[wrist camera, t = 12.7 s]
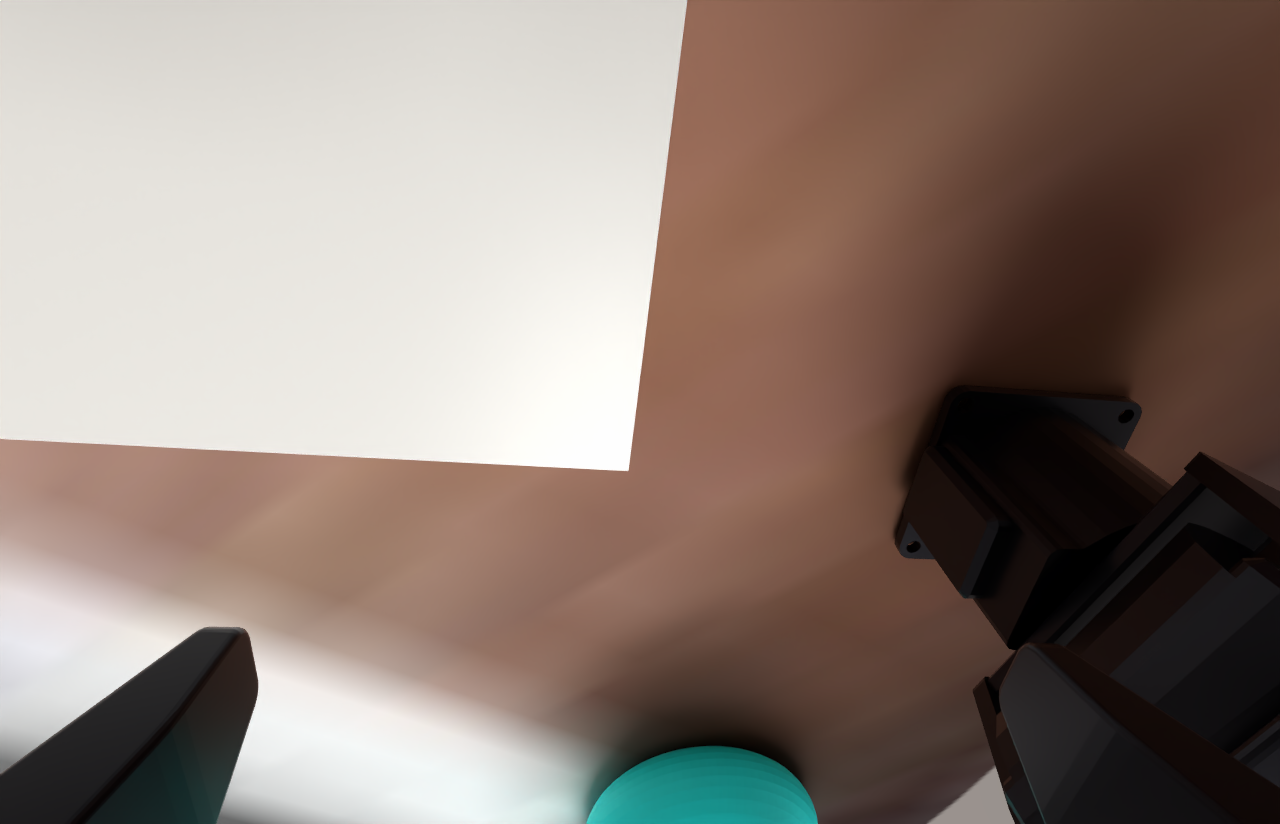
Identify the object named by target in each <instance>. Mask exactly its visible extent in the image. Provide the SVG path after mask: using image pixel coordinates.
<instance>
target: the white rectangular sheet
mask: <svg viewBox="0 0 1280 824" xmlns="http://www.w3.org/2000/svg"><path fill="white" fill-rule="evenodd" d="M686 6H687V0H0V439H14V440H34V441H53V442H73V443H93V444H112V445H132V446H151V447H171V448H190V449H210V450H229V451H249V452H268V453H288V454H308V455H327V456H347V457H366V458H386V459H405V460H425V461H444V462H464V463H484V464H503V465H523V466H542V467H562V468H581V469H601V470H620V471H628V469H629V461H630V453H631V445H632V437H633V429H634V421H635V413H636V405H637V397H638V389H639V381H640V373H641V365H642V357H643V349H644V341H645V333H646V325H647V317H648V309H649V301H650V293H651V285H652V277H653V269H654V261H655V253H656V245H657V237H658V229H659V222H660V214H661V206H662V198H663V190H664V182H665V174H666V166H667V158H668V150H669V142H670V134H671V126H672V118H673V110H674V102H675V94H676V86H677V78H678V70H679V62H680V54H681V46H682V38H683V30H684V22H685V14H686Z"/></svg>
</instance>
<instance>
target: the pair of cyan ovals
mask: <svg viewBox="0 0 1280 824" xmlns="http://www.w3.org/2000/svg"><path fill="white" fill-rule="evenodd" d="M587 824H818V822H817V816H816V812H815V809H814V806H813V803H812V800H811V798H810V796H809V795H808V793H807V791H806V790H805V788H804V787H803V785H802V784H801V782H800V781H799V780H798V779H797V778H796V777H795V776H794V775H793V774H792V773H791V772H790V771H789V770H787V769H786V768H785V767H784V766H782V765H781V764H779V763H778V762H776V761H774V760H772V759H770V758H768V757H765V756H763V755H761V754H758V753H755V752H752V751H749V750H745V749H740V748H734V747H726V746H699V747H690V748H684V749H679V750H675V751H671V752H667V753H663V754H661V755H658V756H655V757H653V758H650V759H648V760H646V761H644V762H642V763H640V764H638V765H636V766H634V767H633V768H631V769H630V770H628V771H626V772H625V773H624V774H622V775H621V776H620V777H619V778H617V779H616V780H615V781H614V782H613V783H612V784H611V785H610V786H609V787H607V788H606V790H605V791H604V792H603V793H602V794H601V796H600V797H599V799H598V800H597V802H596V803H595V805H594V807H593V809H592V811H591V813H590V815H589V817H588V820H587Z"/></svg>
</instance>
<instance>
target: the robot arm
mask: <svg viewBox="0 0 1280 824" xmlns="http://www.w3.org/2000/svg"><path fill="white" fill-rule="evenodd" d="M966 398H967V401H966V403H965V404H964V405H962V406H961V407H958V404H959V403H960V401H962V400H963V399H966ZM1123 411H1124V413H1123V414H1122V415H1121V416H1119V415H1120V414H1121V412H1123ZM1141 413H1142V410H1141V407H1140V406H1139V405H1138V404H1137V403H1136V402H1134V401H1132V400H1131V399H1129V398H1126V397H1119V396H1105V395H1091V394H1077V393H1063V392H1049V391H1035V390H1021V389H1007V388H993V387H979V386H965V385H964V386H958V387H956V388H954V389H952V390H951V391H950V392H949V393H948V394H947V395H946V397H945V399H944V402H943V405H942V408H941V410H940V413H939V416H938V419H937V422H936V425H935V428H934V430H933V433H932V436H931V439H930V442H929V445H928V447H927V449H926V450H925V451H924V452H923V455H922V458H921V461H920V464H919V466H918V469H917V472H916V475H915V478H914V481H913V484H912V486H911V489H910V492H909V495H908V498H907V501H906V504H905V506H904V509H903V514H904V516H903V518H902V521H901V524H900V527H899V530H898V533H897V536H896V538H895V545H896V548H897V549H898V551H899V552H900V554H901V555H902V556H904V557H906V558H914V559H935V560H936V561H937V562H938V564H939V565H940V567H941V568H942V570H943V571H944V572H945V574H946V575H947V577H948V578H949V579H950V581H951V582H952V584H953V585H954V587H955V588H956V589H957V591H958V592H959V593H960V595H961V596H962V597H963V598H969V599H973V600H974V601H975V602H976V604H977V605H978V607H979V608H980V609H981V611H982V612H983V613H984V615H985V616H986V618H987V619H988V620H989V622H990V623H991V625H992V626H993V627H994V629H995V630H996V631H997V633H998V634H999V636H1000V637H1001V638H1002V640H1003V641H1004V643H1005V644H1006V645H1007V647H1008V648H1009V649H1012V650H1016V651H1015V652H1014V653H1013V654H1012V655H1011V656H1010V657H1009V658H1008V659H1007V660H1006V661H1005V662H1004V663H1003V664H1002V665H1001V666H1000V667H999V668H998V669H997V670H996V671H995V672H994V674H993V675H992V676H991V677H984V678H983V680H982V681H981V682H980V683H979V684H978V685H977V686H976V687H975V688H974V689H973V694H974V697H975V700H976V704H977V707H978V710H979V713H980V717H981V720H982V723H983V726H984V730H985V733H986V736H987V739H988V743H989V746H990V749H991V752H992V756H993V759H994V762H995V765H996V769H997V772H998V775H999V778H1000V782H1001V785H1002V788H1003V791H1004V794H1005V798H1006V801H1007V804H1008V807H1009V810H1010V813H1011V815H1012V817H1013V820H1014V822H1015V824H1280V491H1278V490H1276V489H1274V488H1272V487H1270V486H1268V485H1266V484H1264V483H1262V482H1260V481H1258V480H1256V479H1254V478H1252V477H1250V476H1248V475H1246V474H1244V473H1242V472H1240V471H1238V470H1236V469H1234V468H1232V467H1230V466H1228V465H1226V464H1224V463H1222V462H1220V461H1218V460H1217V459H1215V458H1213V457H1211V456H1209V455H1207V454H1205V453H1203V452H1199V453H1198V454H1197V455H1196V456H1195V457H1194V458H1193V459H1192V460H1191V461H1190V463H1189V464H1188V465H1187V466H1186V467H1185V468H1184V469H1185V470H1186V471H1187V472H1186V473H1185V474H1184V475H1183V476H1182V477H1181V478H1180V479H1179V481H1178V482H1177V483H1176V484H1175V485H1174V486H1171V485H1170V484H1169V483H1167V482H1166V481H1165V480H1163V479H1162V478H1161V477H1159V476H1158V475H1157V474H1155V473H1154V472H1152V471H1151V470H1150V469H1148V468H1147V467H1146V466H1144V465H1143V464H1142V463H1140V462H1139V461H1137V460H1136V459H1135V458H1133V457H1132V456H1131V455H1129V454H1128V453H1127V452H1125V451H1124V449H1125V447H1126V445H1127V443H1128V441H1129V439H1130V437H1131V435H1132V433H1133V431H1134V429H1135V427H1136V425H1137V423H1138V421H1139V419H1140V416H1141ZM913 541H915V542H914V543H913V544H911V545H908V544H909V543H911V542H913ZM257 695H258V677H257V672H256V667H255V662H254V657H253V652H252V647H251V641H250V637H249V635H248V633H247V631H246V630H245V629H243V628H240V627H206V628H203V629H200V630H198V631H197V632H195V633H194V634H192V635H191V636H190V637H188V638H187V639H185V640H184V641H183V642H181V643H180V644H179V645H177V646H176V647H174V648H173V649H172V650H170V651H169V652H168V653H166V654H165V655H163V656H162V657H161V658H159V659H158V660H156V661H155V662H154V663H152V664H151V665H150V666H148V667H147V668H145V669H144V670H143V671H141V672H140V673H139V674H137V675H136V676H134V677H133V678H132V679H130V680H129V681H128V682H126V683H125V684H123V685H122V686H121V687H119V688H118V689H116V690H115V691H114V692H112V693H111V694H110V695H108V696H107V697H105V698H104V699H103V700H101V701H100V702H99V703H97V704H96V705H94V706H93V707H92V708H90V709H89V710H88V711H86V712H85V713H83V714H82V715H81V716H79V717H78V718H77V719H75V720H74V721H72V722H71V723H70V724H68V725H67V726H65V727H64V728H63V729H61V730H60V731H59V732H57V733H56V734H54V735H53V736H52V737H50V738H49V739H48V740H46V741H45V742H43V743H42V744H41V745H39V746H38V747H37V748H35V749H34V750H32V751H31V752H30V753H28V754H27V755H25V756H24V757H23V758H21V759H20V760H19V761H17V762H16V763H14V764H13V765H12V766H10V767H9V768H8V769H6V770H5V771H3V772H2V773H1V774H0V824H217V821H218V818H219V815H220V812H221V809H222V806H223V803H224V800H225V796H226V793H227V790H228V787H229V784H230V781H231V778H232V775H233V772H234V769H235V766H236V763H237V760H238V757H239V753H240V750H241V747H242V744H243V741H244V738H245V735H246V732H247V729H248V726H249V723H250V720H251V717H252V713H253V710H254V707H255V704H256V700H257Z"/></svg>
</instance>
